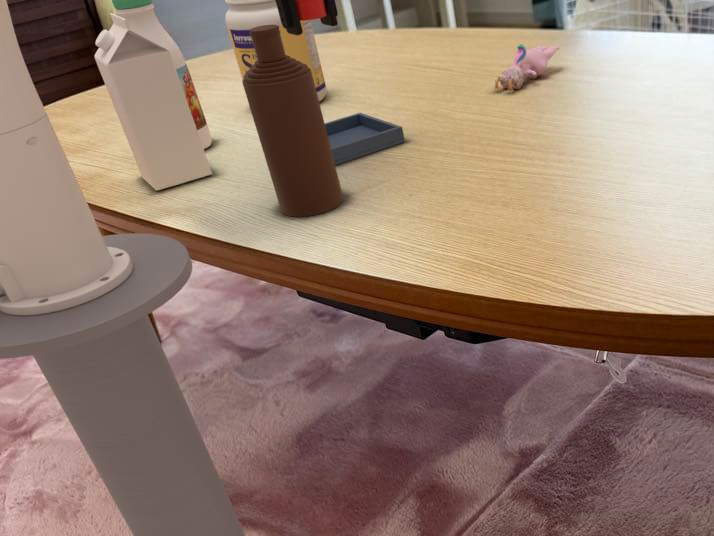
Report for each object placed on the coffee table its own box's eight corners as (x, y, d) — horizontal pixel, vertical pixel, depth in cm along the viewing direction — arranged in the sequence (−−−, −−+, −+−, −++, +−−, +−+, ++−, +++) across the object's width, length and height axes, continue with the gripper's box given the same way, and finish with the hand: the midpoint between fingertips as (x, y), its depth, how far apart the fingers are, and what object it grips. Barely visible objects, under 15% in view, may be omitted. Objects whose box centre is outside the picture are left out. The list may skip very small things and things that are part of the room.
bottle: (300, 222, 87) (247, 38, 76) (270, 207, 91) (215, 32, 80) (355, 200, 90) (311, 22, 79) (323, 187, 95) (278, 17, 84)
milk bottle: (169, 162, 108) (108, -1, 97) (148, 152, 113) (87, -5, 102) (222, 145, 112) (170, -13, 101) (200, 136, 117) (147, -16, 105)
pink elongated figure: (522, 103, 120) (573, 59, 128) (514, 63, 115) (566, 20, 124) (489, 100, 123) (540, 57, 131) (479, 61, 118) (533, 19, 127)
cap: (319, 19, 95) (315, -2, 94) (287, 21, 96) (282, 0, 94) (331, 12, 98) (327, -9, 97) (300, 13, 99) (295, -7, 97)
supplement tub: (242, 118, 123) (204, -4, 113) (262, 95, 133) (229, -18, 123) (320, 110, 122) (289, -13, 112) (335, 88, 132) (308, -27, 122)
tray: (315, 172, 100) (310, 156, 98) (277, 154, 107) (272, 139, 106) (405, 141, 106) (402, 126, 105) (363, 126, 113) (360, 112, 112)
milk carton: (196, 163, 107) (141, 7, 96) (213, 175, 102) (157, 13, 91) (142, 178, 104) (78, 19, 93) (157, 192, 99) (91, 26, 88)
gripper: (205, -145, 81) (261, 49, 92) (351, -164, 88) (387, 17, 99) (180, -142, 86) (236, 42, 96) (320, -160, 93) (357, 11, 104)
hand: (312, 27), depth 98 cm, fingers closed on cap, 4 cm apart
